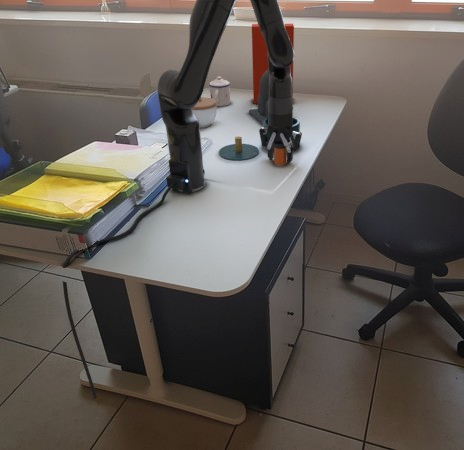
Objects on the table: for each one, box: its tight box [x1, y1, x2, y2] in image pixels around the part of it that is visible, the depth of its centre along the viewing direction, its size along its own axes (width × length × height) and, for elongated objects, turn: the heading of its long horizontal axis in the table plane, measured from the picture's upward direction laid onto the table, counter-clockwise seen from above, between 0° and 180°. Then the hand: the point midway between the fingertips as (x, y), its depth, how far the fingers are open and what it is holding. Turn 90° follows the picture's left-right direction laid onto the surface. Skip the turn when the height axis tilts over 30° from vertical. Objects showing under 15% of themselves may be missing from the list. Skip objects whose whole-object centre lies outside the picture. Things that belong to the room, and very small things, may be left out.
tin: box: [262, 116, 301, 154], centre depth 161 cm, size 13×13×10 cm
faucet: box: [248, 69, 269, 126], centre depth 186 cm, size 18×16×20 cm
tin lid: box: [218, 136, 260, 162], centre depth 157 cm, size 14×14×6 cm
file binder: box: [251, 23, 295, 105], centre depth 201 cm, size 8×17×32 cm, turn 90°
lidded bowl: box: [192, 96, 217, 129], centre depth 181 cm, size 13×13×11 cm
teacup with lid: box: [208, 76, 231, 107], centre depth 203 cm, size 12×9×12 cm
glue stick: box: [273, 141, 287, 166], centre depth 149 cm, size 4×4×8 cm
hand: (280, 160), depth 151 cm, fingers open, 5 cm apart
